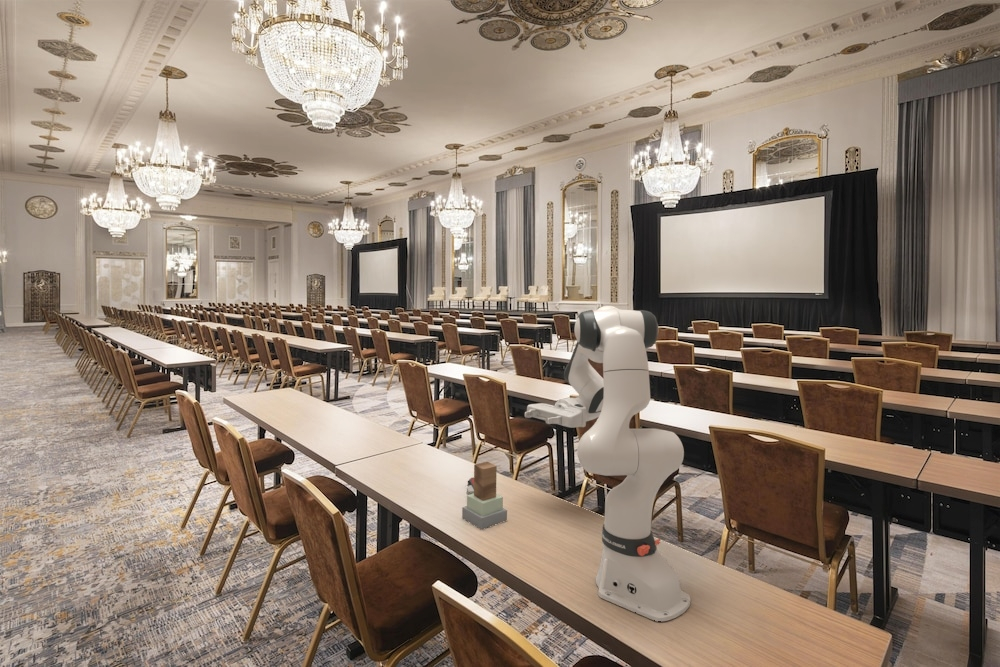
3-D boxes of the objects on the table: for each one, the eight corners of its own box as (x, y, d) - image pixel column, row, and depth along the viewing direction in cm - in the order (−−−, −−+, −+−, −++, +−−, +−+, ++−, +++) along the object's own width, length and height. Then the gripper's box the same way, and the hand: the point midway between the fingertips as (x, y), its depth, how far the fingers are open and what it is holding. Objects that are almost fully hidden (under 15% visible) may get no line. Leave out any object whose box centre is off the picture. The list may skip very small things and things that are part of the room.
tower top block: (502, 509, 162) (502, 497, 162) (483, 516, 157) (483, 503, 157) (486, 501, 168) (486, 489, 168) (466, 507, 163) (466, 495, 163)
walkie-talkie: (462, 485, 192) (472, 507, 173) (462, 473, 192) (473, 494, 173) (485, 483, 194) (498, 505, 175) (485, 472, 194) (498, 492, 175)
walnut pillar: (496, 497, 162) (496, 466, 161) (482, 500, 159) (483, 469, 158) (486, 491, 166) (487, 461, 165) (473, 495, 163) (474, 464, 162)
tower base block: (506, 522, 162) (507, 509, 162) (481, 531, 156) (481, 518, 156) (487, 511, 170) (487, 499, 170) (462, 519, 164) (462, 507, 163)
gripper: (544, 397, 180) (514, 402, 171) (590, 408, 164) (559, 414, 155) (544, 415, 180) (514, 421, 172) (589, 427, 165) (559, 435, 156)
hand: (536, 418), depth 163 cm, fingers open, 8 cm apart
